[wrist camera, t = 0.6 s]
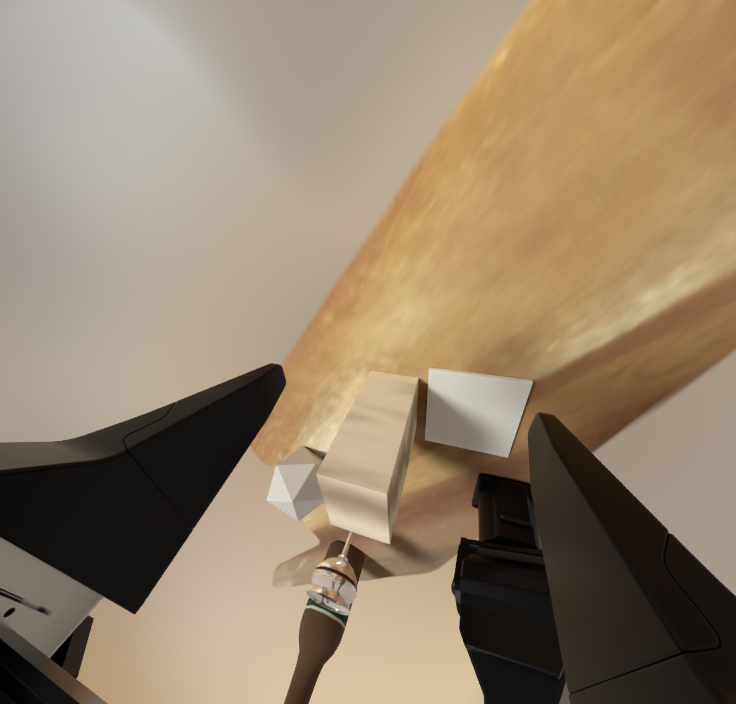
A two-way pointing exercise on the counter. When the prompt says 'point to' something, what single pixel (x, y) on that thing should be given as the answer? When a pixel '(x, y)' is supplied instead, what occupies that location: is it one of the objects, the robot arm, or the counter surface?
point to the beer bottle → (319, 634)
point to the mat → (474, 410)
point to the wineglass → (334, 583)
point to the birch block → (371, 457)
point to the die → (296, 484)
